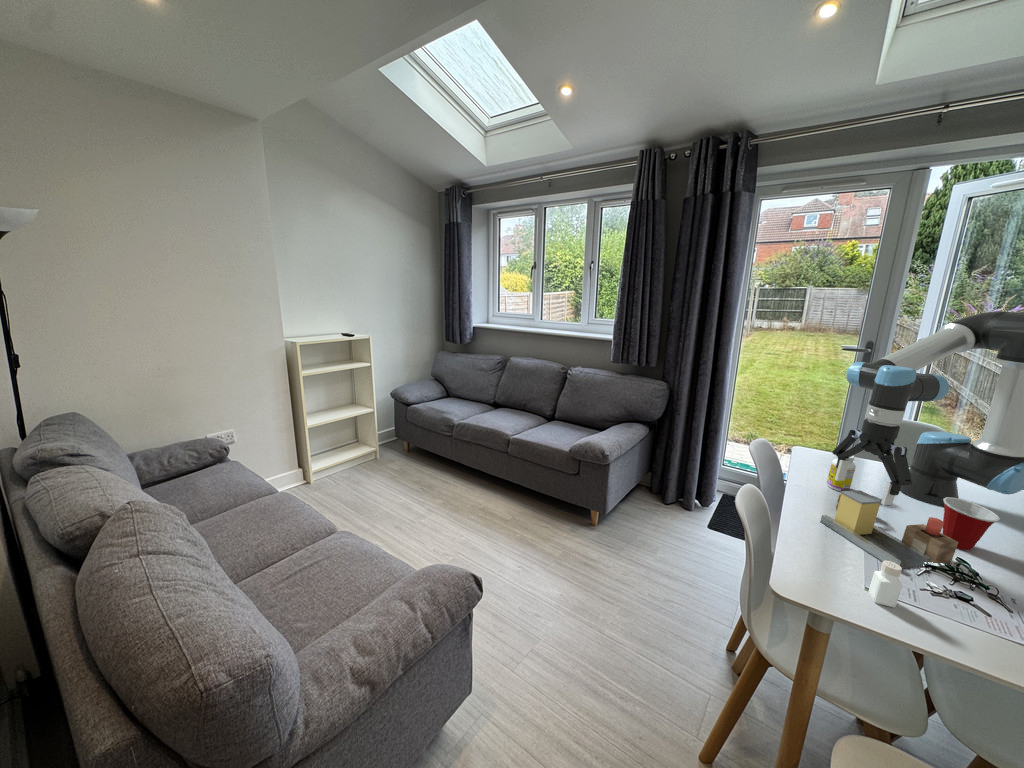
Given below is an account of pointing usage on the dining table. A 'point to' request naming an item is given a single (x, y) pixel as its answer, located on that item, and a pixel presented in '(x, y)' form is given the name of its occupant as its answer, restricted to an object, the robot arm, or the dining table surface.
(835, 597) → the dining table surface
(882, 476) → the dining table surface
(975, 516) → the plastic cup
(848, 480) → the supplement bottle
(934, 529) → the ball
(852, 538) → the track
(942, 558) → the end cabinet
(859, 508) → the carriage
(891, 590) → the white pill bottle
